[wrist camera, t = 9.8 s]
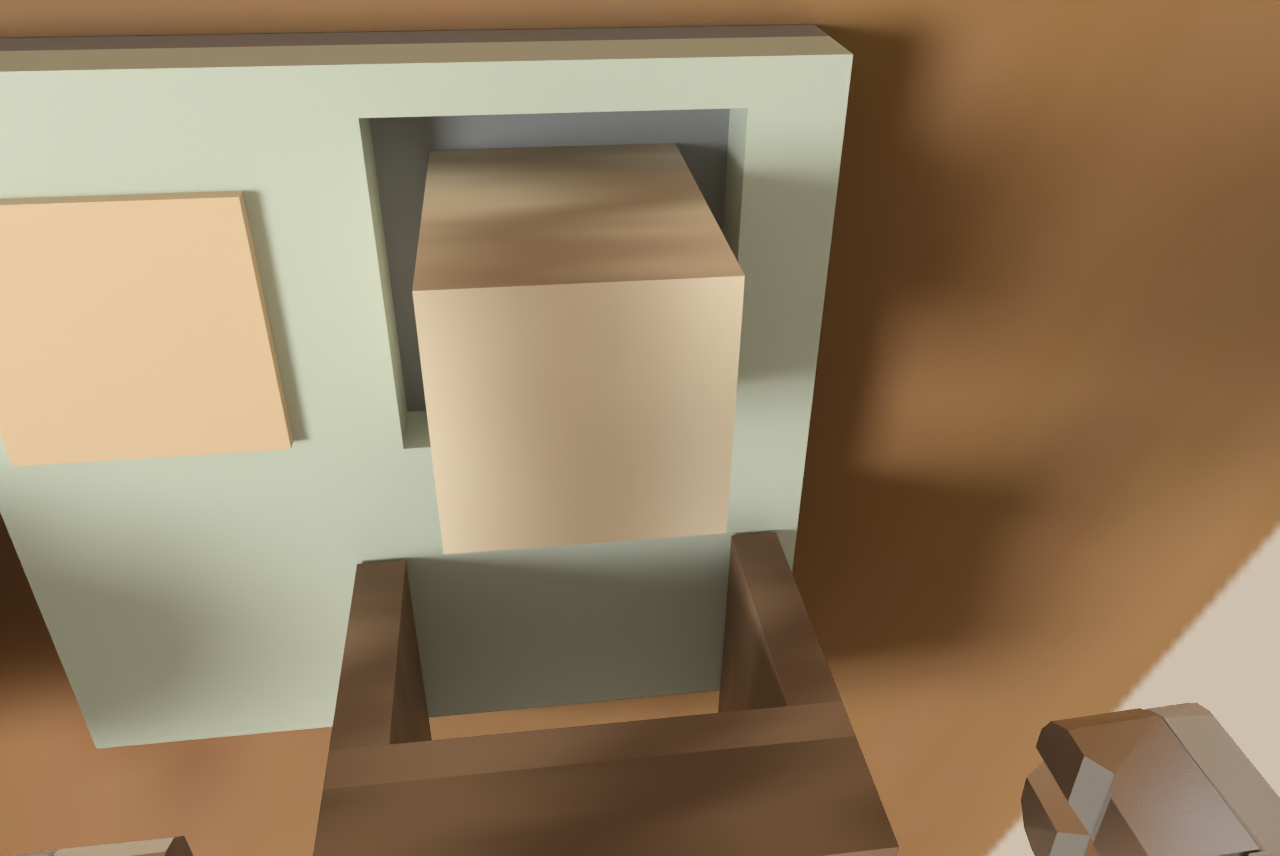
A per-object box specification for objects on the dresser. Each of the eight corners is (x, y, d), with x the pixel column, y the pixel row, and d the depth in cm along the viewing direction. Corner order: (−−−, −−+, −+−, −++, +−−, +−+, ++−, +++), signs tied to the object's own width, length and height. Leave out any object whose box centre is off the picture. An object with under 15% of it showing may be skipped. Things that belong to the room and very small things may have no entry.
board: (814, 24, 19) (858, 58, 17) (756, 617, 27) (781, 693, 25) (-103, 39, 17) (-189, 80, 15) (126, 671, 26) (92, 758, 23)
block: (674, 142, 19) (744, 276, 14) (669, 355, 22) (726, 532, 17) (429, 150, 19) (412, 290, 14) (451, 367, 21) (443, 554, 16)
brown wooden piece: (776, 532, 23) (898, 847, 16) (753, 747, 26) (845, 1073, 20) (357, 563, 22) (304, 914, 15) (396, 782, 25) (367, 1140, 19)
